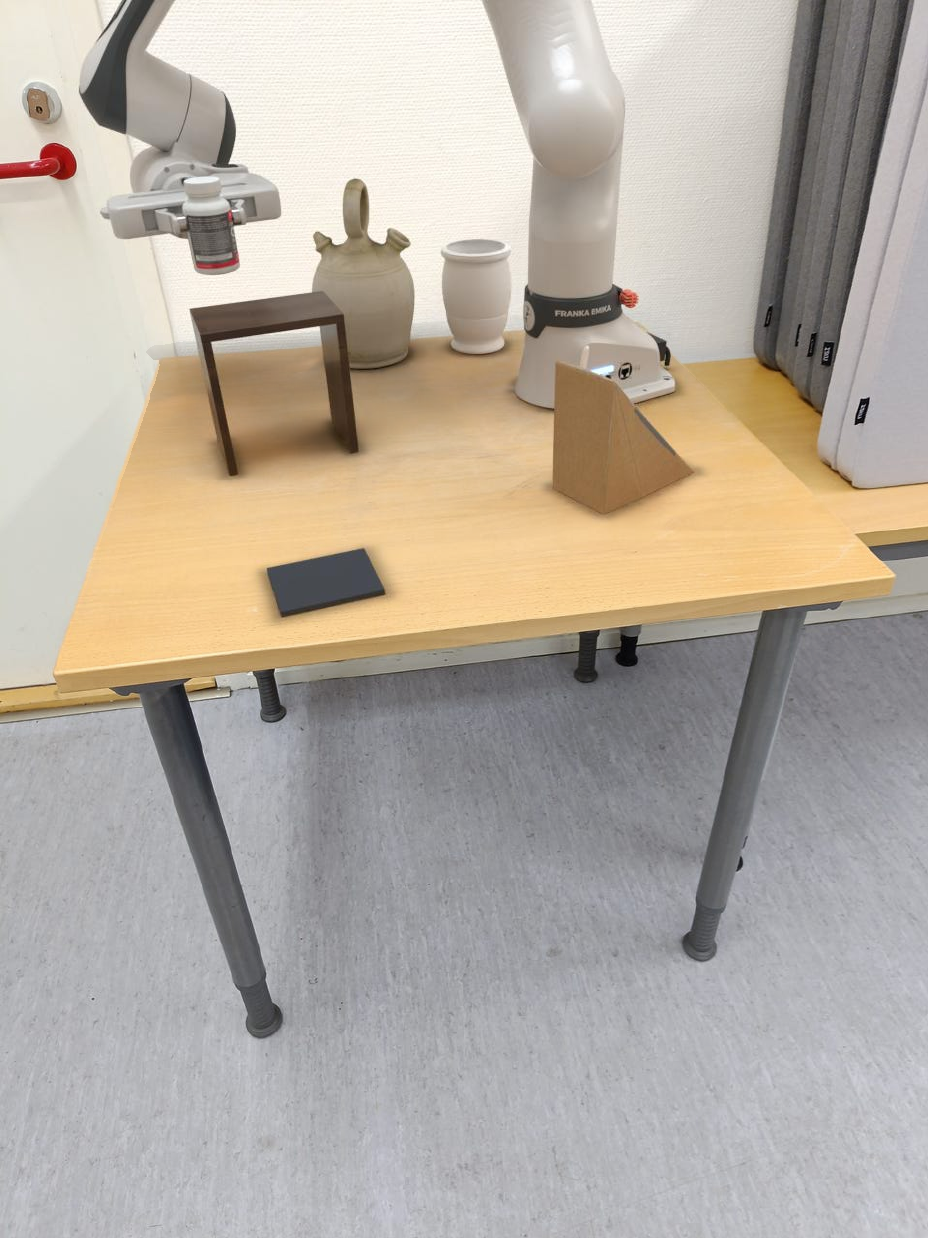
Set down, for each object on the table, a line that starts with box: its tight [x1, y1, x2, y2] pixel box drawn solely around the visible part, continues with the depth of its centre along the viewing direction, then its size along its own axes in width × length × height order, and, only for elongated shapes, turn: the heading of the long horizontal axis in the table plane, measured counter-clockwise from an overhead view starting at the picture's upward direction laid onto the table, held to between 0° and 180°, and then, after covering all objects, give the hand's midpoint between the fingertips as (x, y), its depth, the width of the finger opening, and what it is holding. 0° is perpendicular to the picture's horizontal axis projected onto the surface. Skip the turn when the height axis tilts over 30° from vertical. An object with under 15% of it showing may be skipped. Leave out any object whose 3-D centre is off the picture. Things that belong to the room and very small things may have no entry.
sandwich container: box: [552, 360, 695, 515], centre depth 95 cm, size 9×15×15 cm, turn 129°
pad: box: [266, 547, 386, 618], centre depth 84 cm, size 10×8×1 cm
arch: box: [188, 291, 360, 477], centre depth 104 cm, size 10×16×17 cm, turn 111°
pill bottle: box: [182, 176, 241, 276], centre depth 100 cm, size 5×5×10 cm
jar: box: [440, 238, 512, 355], centre depth 133 cm, size 11×10×15 cm
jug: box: [311, 177, 415, 370], centre depth 128 cm, size 15×16×25 cm
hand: (210, 221), depth 99 cm, fingers closed on pill bottle, 5 cm apart
